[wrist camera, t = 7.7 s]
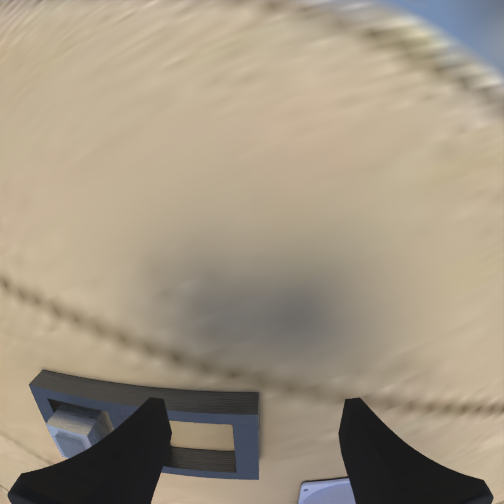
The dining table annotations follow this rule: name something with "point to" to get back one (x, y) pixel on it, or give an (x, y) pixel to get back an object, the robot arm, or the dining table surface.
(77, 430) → the grey metal block
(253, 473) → the blue-grey frame board
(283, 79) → the dining table surface
